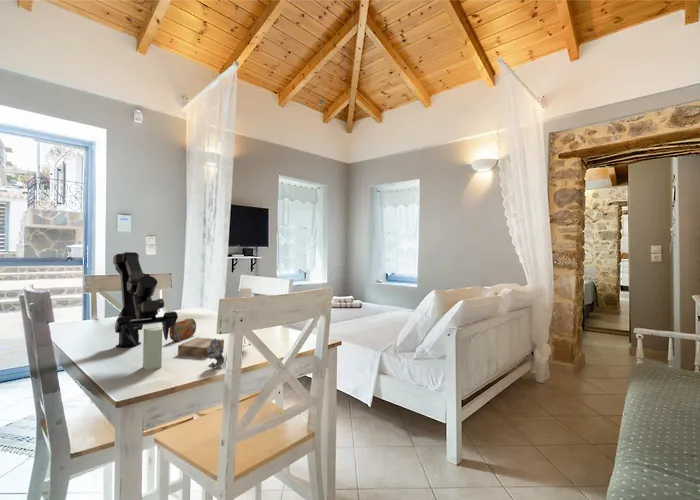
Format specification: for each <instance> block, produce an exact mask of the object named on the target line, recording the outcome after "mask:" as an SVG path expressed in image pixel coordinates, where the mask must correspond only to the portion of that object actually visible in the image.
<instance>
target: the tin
mask: <svg viewBox="0 0 700 500" xmlns="http://www.w3.org/2000/svg"><path fill="white" fill-rule="evenodd" d="M196 330H197V323H196V321H195V319H193V318H185V319H181V320H179V321H178V320H177V321H176V323H175V325H173V326H172V327H171V328H169V332H168V335H169V338H170V340H172V341H173V342H182V341H183V340H186V339H188V338H189V339H190V338H191V337H193V336H194V335H195V333H196Z"/></svg>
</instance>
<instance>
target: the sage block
mask: <svg viewBox="0 0 700 500" xmlns="http://www.w3.org/2000/svg"><path fill="white" fill-rule="evenodd" d="M142 341H143V344H142V345H143V347H142V349H143V350H142V356H143V357H142V368H143V369H144V370H145V371H146V372H147V371H152V370H156V369H162V359H163V357H162V354H163V329H162V327H158V326H156V327H149V328H143V340H142Z"/></svg>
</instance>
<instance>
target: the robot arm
mask: <svg viewBox="0 0 700 500" xmlns="http://www.w3.org/2000/svg"><path fill="white" fill-rule="evenodd" d="M139 257H140V256H139V253H138V252H135V251H133V252H131V251H124V252H122V253H117V254H115V255H114V256H113V259H112V261H113V262H112V263H113V265H114V268H115V271H116V272H117V273H118V274H119V275H120V286H121V287H120V288H121V302H122V303H121V304H122V309H121V310H120V312H119V314H118V317H117V319H116V320H115V324H114V332H115V333H117V334H118V344H116V345H115V347H117V348H132V347H135V346H137V345H141V344H142V342H141V341H140V333H139V331H142V330H143V325H151V324H161V325H162V327H161V329H162V334H163V337H164V340H165V341H168V338H169V332H170V328H171V327H172V326H173V325H175V323H176V322H177V321H178V317H179V315H178V313H177V312H176V311H167V312H164V314H163V316H157V315H158V314H159V312H158V311H159V310H160V309H163V308H165V301H164V298H157V299H154V300H152V299H153V298H152V296H154V294H155V291H156V288H157V286H158V279H156V278H155V277H154V276H151V275H150V273H144V271H143V270H142V269H143V268H142V267H141V264H140V262H139V261H140V259H139Z"/></svg>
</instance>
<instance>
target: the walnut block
mask: <svg viewBox="0 0 700 500" xmlns="http://www.w3.org/2000/svg"><path fill="white" fill-rule="evenodd" d="M214 339H215V338H208V337H195V338H192V339H190V340H188V341H185V342H183V343H181V344H178V345H177V355H178V356H187V357H198V358H199V357H200V358H209V357H208V353H209V352H208V351H207V348H208V347H209V346H210V345H211V344H210V342H211V340H214ZM216 340H220V343H221V344H222V346H221V348H222V349H223V350H224V348H225V346H224V344H225V339H222V338H216Z"/></svg>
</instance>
